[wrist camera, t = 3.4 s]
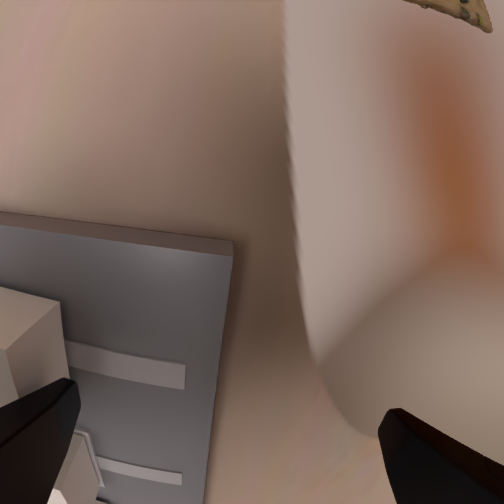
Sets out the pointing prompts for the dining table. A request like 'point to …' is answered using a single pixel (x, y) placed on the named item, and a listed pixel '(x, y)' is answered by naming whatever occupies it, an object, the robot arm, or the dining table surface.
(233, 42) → the dining table surface
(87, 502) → the slider middle
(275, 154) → the dining table surface
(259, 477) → the dining table surface
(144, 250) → the switch panel
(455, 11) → the speckled tan slab
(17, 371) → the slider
